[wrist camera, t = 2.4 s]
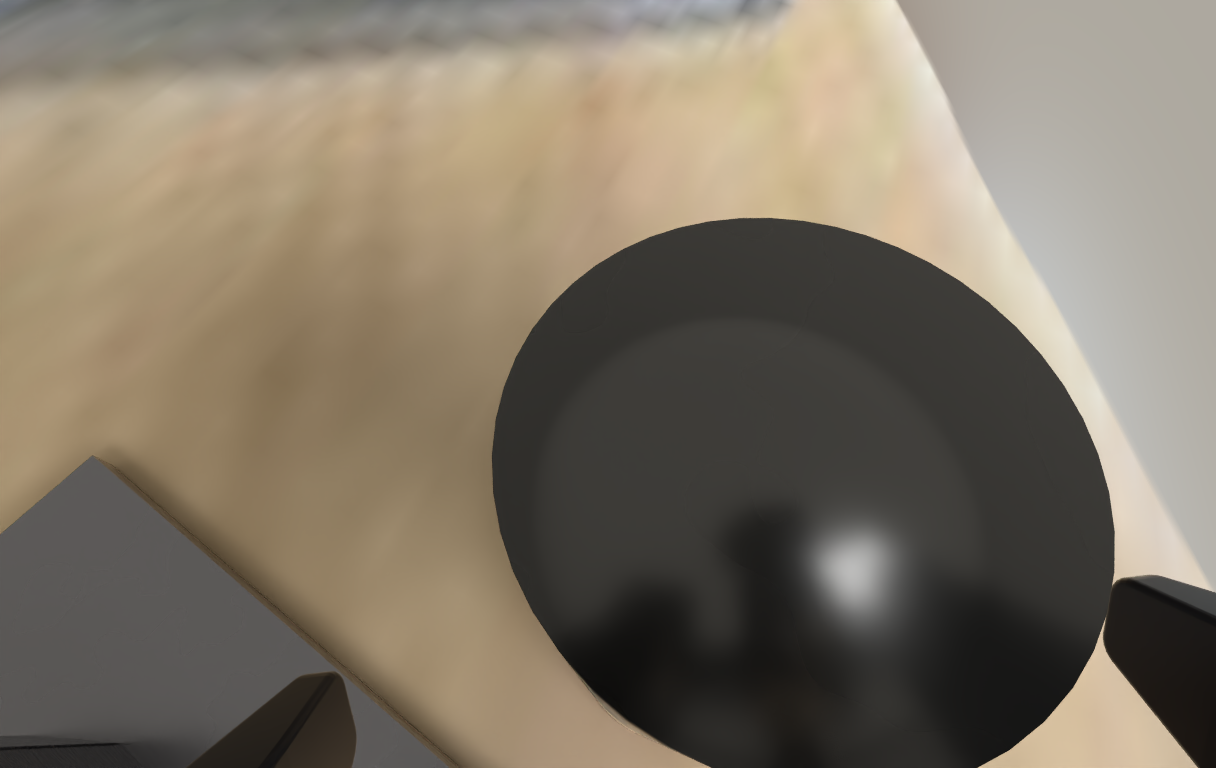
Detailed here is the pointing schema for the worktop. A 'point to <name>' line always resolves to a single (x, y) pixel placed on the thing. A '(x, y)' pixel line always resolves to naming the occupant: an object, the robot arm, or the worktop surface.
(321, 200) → the worktop surface
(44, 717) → the firebox collar
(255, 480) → the worktop surface
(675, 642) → the black capped shaker
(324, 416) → the worktop surface
